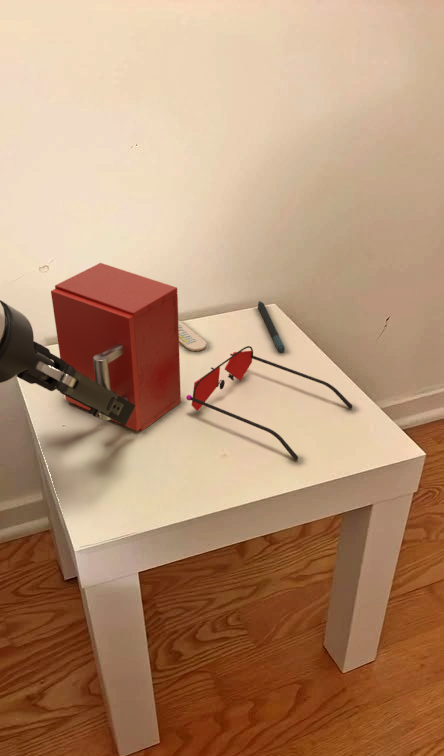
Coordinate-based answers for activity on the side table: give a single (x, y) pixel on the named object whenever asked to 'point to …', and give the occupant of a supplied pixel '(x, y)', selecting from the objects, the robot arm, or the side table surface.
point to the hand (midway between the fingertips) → (113, 407)
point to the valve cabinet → (141, 330)
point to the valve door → (99, 347)
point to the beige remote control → (190, 338)
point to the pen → (271, 327)
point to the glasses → (237, 369)
